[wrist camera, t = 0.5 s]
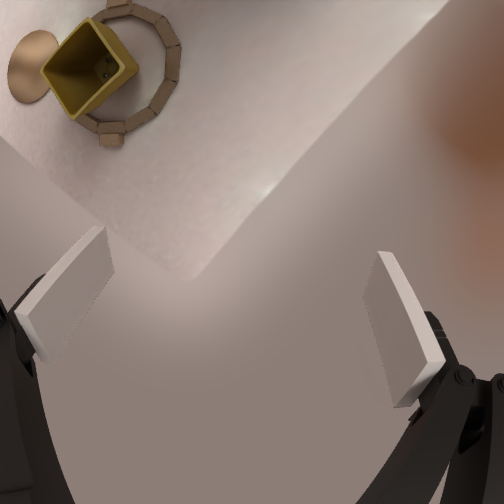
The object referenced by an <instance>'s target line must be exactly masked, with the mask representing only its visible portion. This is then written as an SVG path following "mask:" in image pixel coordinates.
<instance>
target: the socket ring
mask: <svg viewBox="0 0 504 504" xmlns="http://www.w3.org/2000/svg"><path fill="white" fill-rule="evenodd" d="M106 8H108V9H103V11H102V10H101V11H100V12H99V13H97V14H96V15H95V16H94V17H92V19H94V20H96V21H98V22H100V23H104V22H105V21H106V20H109V19H114V18H119V17H125V16H131V15H134V16H137V17H139V18H141V19H144V20H146V21H148V22H150V23H152V24H154V25H155V27H156V29H157V31H158V33H159V34H160V36H161V38H162V40H163V42H164V44H165V46H166V48H167V53H166V66H165V79H164V81H163V82H162V84H161V86H160V87H159V89H158V90H157V92H156V94H155V95H154V97H153V99H152V101H151V102H150V104H149V106H148V107H146V108H144V109H143V110H141V111H140V112H138V113H137V114H135V115H134V116H132V117H130V118H129V119H127V120H126V121H113V122H101V121H99V120H98V119H96V118H94V117H93V116H91V115H89V114H88V113H86V114H84V115H82V116H80V117H79V118H77V119H75V121H76V122H78V123H79V124H81V125H83V126H84V127H86V128H87V129H89V130H91V131H92V132H94V133H97V134H100V135H99V138H100V146H119V145H121V144H123V143H124V133H127V132H130V131H132V130H133V129H135V128H136V127H138V126H139V125H141V124H143V123H144V122H146V121H147V120H149V119H151V118H152V117H154V116H156V115H157V113H160V111H161V109H162V108H163V106H164V104H165V103H166V101H167V99H168V98H169V96H170V95H171V93H172V91H173V90H174V88H175V87H176V85H177V84H178V83H177V82H176V81H179V69H180V57H181V47H180V45H181V44H180V42H179V40H178V38H177V36H176V35H175V33H174V31H173V29H172V27H171V25H170V24H169V22H168V20H167V18H165V16H163V15H161V14H158V13H156V12H154V11H152V10H149V9H147V8H145V7H142V6H140V5H137V4H132V0H107V4H106Z"/></svg>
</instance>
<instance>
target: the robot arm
mask: <svg viewBox="0 0 504 504" xmlns="http://www.w3.org/2000/svg"><path fill="white" fill-rule="evenodd" d="M113 274H114V269H113V264H112V259H111V254H110V249H109V244H108V238H107V233H106V227H105V226H92V227H91V228H90V229H89V230H88V231H87V232H86V233H85V234H84V235H83V236H82V237H81V238H80V239H79V240H78V241H77V242H76V243H75V244H74V245H73V246H72V247H71V248H70V249H69V250H68V251H67V252H66V253H65V254H64V255H63V256H62V257H61V258H60V259H59V261H58V262H57V263H56V264H55V265H54V266H53V267H52V268H51V269H50V270H49V271H48V272H47V273H46V274H43V275H42V276H40V277H39V278H37V279H36V280H35V281H34V282H33V283H32V284H31V286H30V288H28V289H27V290H26V291H25V294H23V295H22V296H21V297H20V298H19V299H18V301H17V302H16V303H15V304H14V306H13V307H12V308H11V309H10V310H9V312H8V313H7V311H6V309H5V307H4V304H3V302H2V300H1V299H0V504H75V502H74V500H73V498H72V495H71V493H70V491H69V488H68V486H67V483H66V480H65V478H64V475H63V473H62V470H61V467H60V464H59V461H58V458H57V455H56V452H55V449H54V446H53V443H52V439H51V436H50V432H49V428H48V425H47V421H46V417H45V413H44V408H43V404H42V399H41V394H40V389H39V384H38V379H37V373H36V367H35V362H34V359H33V358H32V356H33V355H34V353H35V352H36V353H37V355H38V357H39V358H40V360H41V361H42V362H45V363H48V364H51V365H53V366H54V365H55V364H56V362H57V360H58V359H59V357H60V355H61V354H62V352H63V350H64V349H65V347H66V345H67V343H68V342H69V340H70V338H71V337H72V335H73V334H74V332H75V331H76V329H77V327H78V326H79V324H80V322H81V321H82V319H83V318H84V316H85V315H86V313H87V311H88V310H89V309H90V307H91V306H92V304H93V303H94V301H95V300H96V298H97V297H98V295H99V294H100V292H101V291H102V289H103V287H104V286H105V285H106V284H107V282H108V281H109V279H110V278H111V276H112V275H113ZM363 299H364V302H365V305H366V309H367V311H368V315H369V318H370V321H371V324H372V328H373V331H374V335H375V338H376V341H377V344H378V348H379V352H380V355H381V359H382V363H383V366H384V370H385V374H386V377H387V381H388V385H389V390H390V393H391V398H392V402H393V406H394V408H400V407H410V406H412V405H413V403H414V402H415V401H416V400H417V399H419V402H420V407H419V408H418V409H417V410H416V411H415V412H414V414H413V415H412V416H411V417H410V418H409V419H408V420H409V421H411V422H410V424H409V425H408V427H407V429H406V430H405V432H404V434H403V436H402V437H401V439H400V441H399V442H398V444H397V446H396V447H395V449H394V450H393V452H392V454H391V455H390V457H389V458H388V460H387V461H386V463H385V464H384V466H383V467H382V469H381V470H380V472H379V473H378V474H377V476H376V477H375V479H374V480H373V482H372V483H371V484H370V486H369V487H368V488H367V490H366V491H365V492H364V494H363V495H362V496H361V498H360V499H359V500H358V501H357V503H356V504H429V502H430V500H431V498H432V496H433V495H434V493H435V491H436V489H437V487H438V485H439V483H440V481H441V479H442V477H443V475H444V473H445V471H446V469H447V466H448V464H449V462H450V464H449V468H448V473H447V477H446V482H445V486H444V490H443V493H442V497H441V501H440V504H504V374H502V373H498V374H496V375H495V376H494V377H493V378H492V379H491V381H485V380H480V379H476V377H475V375H474V373H473V372H472V370H470V369H469V368H468V367H466V366H463V365H459V363H458V361H457V358H456V356H455V354H454V351H453V349H452V347H451V345H450V343H449V341H448V339H447V338H446V334H445V333H444V331H443V328H442V326H441V324H440V323H439V320H438V319H437V318H436V317H435V316H434V315H433V314H432V313H431V312H429V311H428V312H427V311H426V312H425V311H423V310H422V308H421V306H420V304H419V302H418V300H417V298H416V296H415V294H414V292H413V290H412V288H411V286H410V285H409V282H408V281H407V279H406V277H405V275H404V273H403V271H402V270H401V268H400V266H399V264H398V262H397V261H396V259H395V257H394V255H393V254H392V252H383V251H377V255H376V258H375V261H374V264H373V268H372V270H371V274H370V277H369V280H368V283H367V286H366V289H365V292H364V294H363Z"/></svg>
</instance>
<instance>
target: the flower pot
mask: <svg viewBox="0 0 504 504" xmlns="http://www.w3.org/2000/svg"><path fill="white" fill-rule="evenodd" d="M107 58H110V60H109V61H107ZM138 71H139V66H138V64H137V63H136V62H135V60H134V59H133V58H132V56H131V55H130V54H129V52H128V51H127V50H126V48H125V47H124V45H123V44H122V43H121V41H120V40H119V38H118V37H117V35H116V34H115V33H114V31H113V30H112V29H110V28H109V27H108V26H106V25H104V24H102V23H100V22H98V21H96V20H94V19H92V18H89V17H87V18H86V19H84V20H83V21H82V22H81V23H80V24H79V25H78V26H77V27H76V28H75V29H74V30H73V32H72V33H71V34H70V35H69V36H68V37H67V38H66V39H65V40H64V41H63V42H62V44H61V45H60V46H59V47H58V48H57V49H56V50H55V51H54V53H53V54H52V55H51V56H50V57H49V58H48V59H47V61H46V62H45V63H44V64H43V66H42V68H41V70H40V73H41V75H42V76H43V78H44V79H45V81H46V82H47V84H48V85H49V87H50V88H51V90H52V91H53V93H54V94H55V96H56V98H57V99H58V101H59V103H60V104H61V106H62V107H63V109H64V111H65V112H66V114H67V115H68V117H69V118H70V119H71V120H75V119H77V118H79V117H80V116H82V115H84V114H86V113H88V112H90V111H92V110H94V109H96V108H97V107H99V106H100V105H101V104H102V103H103V102H104V101H105V100H106V99H107V98H108V97H109V96H110V95H112V94H113V93H114V92H115V91H116V90H117V89H118V88H119V87H120V86H121V85H123V84H124V83H125V82H126V81H127V80H128V79H130V78H131V77H132V76H133V75H134V74H136V73H137V72H138ZM104 74H107V77H104Z"/></svg>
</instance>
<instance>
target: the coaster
mask: <svg viewBox="0 0 504 504" xmlns="http://www.w3.org/2000/svg"><path fill="white" fill-rule="evenodd" d="M58 47H59V45H58V42H57V40H56V38H55V37H54V35H53V34H51V33H50V32H48V31H43V30H38V31H33V32H31V33H29V34H28V35H26V36H25V37H24V38H23V39H22V40H21V41H20V42H19V43H18V45H17V46H16V48H15V49H14V51H13V53H12V56H11V58H10V61H9V65H8V73H7V79H8V86H9V89H10V92H11V94H12V95H13V97H14V98H15V99H16V100H18V101H19V102H22V103H30V102H34V101H36V100H38V99H40V98H41V97H42V96H43V95H45V93H46V92H47V91H48V90H49V88H50V87H49V85H48V84H47V82H46V81H45V79H44V78H43V76H42V75H41V73H40V70H41V68H42V66H43V64H44V63H45V62H46V61H47V59H48V58H49V57H50V56H51V55H52V54H53V53H54V51H55V50H56V49H57V48H58Z"/></svg>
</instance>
